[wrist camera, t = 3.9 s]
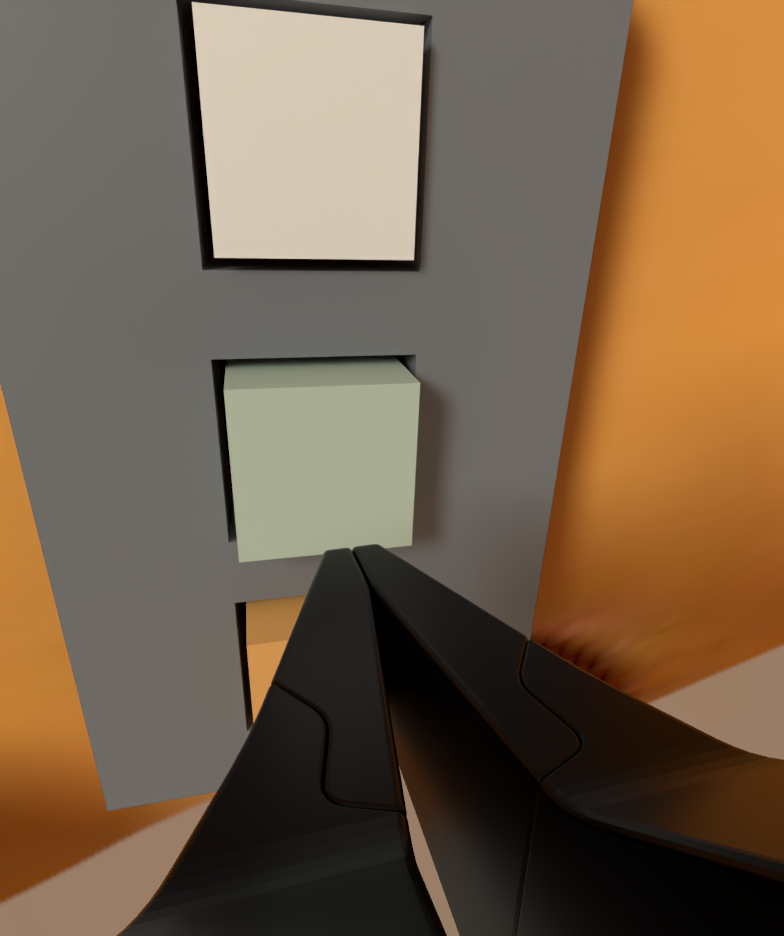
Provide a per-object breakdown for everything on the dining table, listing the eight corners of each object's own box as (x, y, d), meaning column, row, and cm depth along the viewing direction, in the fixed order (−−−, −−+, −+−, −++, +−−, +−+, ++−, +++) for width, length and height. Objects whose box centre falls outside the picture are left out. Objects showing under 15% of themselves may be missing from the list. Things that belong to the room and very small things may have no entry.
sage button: (239, 506, 17) (239, 562, 14) (226, 356, 15) (223, 389, 13) (386, 494, 18) (411, 545, 15) (390, 352, 16) (420, 383, 14)
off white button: (218, 246, 15) (214, 257, 12) (201, 40, 13) (191, 1, 11) (385, 249, 16) (413, 260, 13) (390, 57, 14) (424, 25, 12)
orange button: (255, 687, 20) (256, 763, 17) (245, 580, 18) (246, 645, 16) (381, 669, 21) (401, 737, 18) (384, 565, 19) (407, 625, 16)
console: (123, 735, 21) (107, 811, 19) (-67, -150, 12) (-159, -253, 9) (484, 679, 24) (514, 737, 22) (577, -56, 15) (651, -113, 12)
